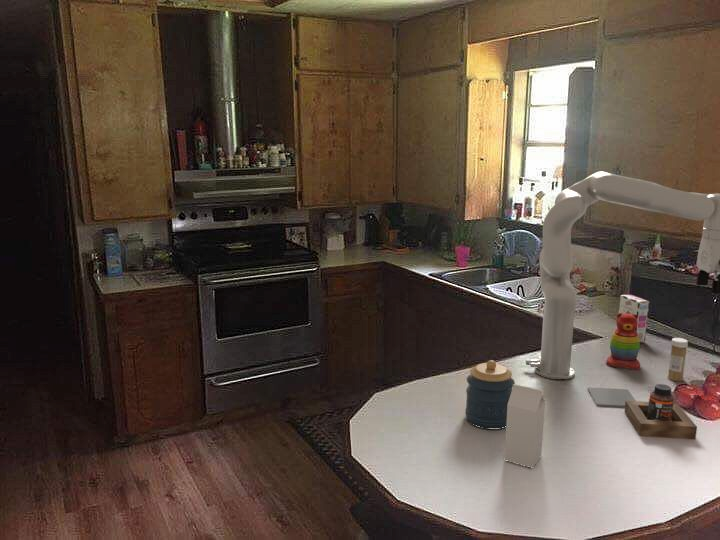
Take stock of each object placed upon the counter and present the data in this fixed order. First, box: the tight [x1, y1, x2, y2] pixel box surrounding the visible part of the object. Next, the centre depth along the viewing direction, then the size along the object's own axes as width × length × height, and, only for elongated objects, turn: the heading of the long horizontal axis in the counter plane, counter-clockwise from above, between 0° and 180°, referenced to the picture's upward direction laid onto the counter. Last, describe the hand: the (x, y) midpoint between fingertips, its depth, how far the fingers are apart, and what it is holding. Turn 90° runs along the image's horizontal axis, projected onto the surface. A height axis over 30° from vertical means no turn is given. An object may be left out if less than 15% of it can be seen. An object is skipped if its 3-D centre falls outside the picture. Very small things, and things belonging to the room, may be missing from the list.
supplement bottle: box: [646, 383, 675, 421], centre depth 166 cm, size 6×6×11 cm
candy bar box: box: [616, 294, 650, 344], centre depth 235 cm, size 11×5×16 cm, turn 14°
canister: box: [464, 359, 516, 428], centre depth 169 cm, size 13×13×18 cm
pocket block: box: [624, 400, 698, 440], centre depth 167 cm, size 14×14×4 cm
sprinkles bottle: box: [667, 337, 689, 382], centre depth 197 cm, size 5×5×13 cm
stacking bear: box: [605, 312, 641, 371], centre depth 210 cm, size 11×10×18 cm
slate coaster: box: [587, 386, 637, 408], centre depth 184 cm, size 12×12×1 cm
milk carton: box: [503, 383, 546, 469], centre depth 149 cm, size 7×7×19 cm
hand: (709, 289), depth 190 cm, fingers open, 9 cm apart
